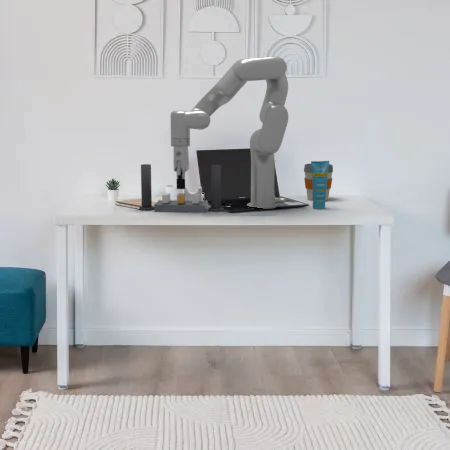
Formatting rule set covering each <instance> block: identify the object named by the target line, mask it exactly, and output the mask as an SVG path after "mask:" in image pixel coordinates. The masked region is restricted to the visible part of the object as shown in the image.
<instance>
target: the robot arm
mask: <svg viewBox="0 0 450 450" xmlns="http://www.w3.org/2000/svg"><path fill="white" fill-rule="evenodd" d="M287 68H288V66H287V62H286V61H285V60H284V59H283V58H282V57H281V56H267V57H260V58H257V57H256V58H241V59H239V60H236V61H235V62H234V63H233V64H232V65H231V67H230V68H229V69H228V70H227V71H226V72H225V73H224V74H223V76H222V77H221V78H220V79H219V80H218V81H217V82H216V84H215V85H214V86H213V87H212V88H210V89H209V90H208V92H207V93H206V94H205V95H204V96H202V98H201V99H200V100H199V101H198V102H197V103H196V105H194V106H193V107H192V109H191V110H190V111H188V110H174V111H173V110H172V111H171V113H170V147H172V148H173V171H174V172H175V173H176V189H177V190H184V189H185V187H186V172H187V171H189V169H190V159H189V147H190V146H191V130H192V129H193V130H199V131H200V130H205V129H207V128H208V127H209V126H210V123H211V116H212V115H213V114H214V113H215V112H216V111H217V110H218V109H219V108H221V107H222V106H223V105H226V104H227V103H229V102H230V101H232V100H233V99H234V97H235V96H236V95H237V94H238V93H239V92H240V90H241V89H242V88H243V87H245V85H246V83H247V82H251V81H252V82H254V81H256V82H257V81H266V89H265V95H264V99H263V101H262V105H261V108H260V112H259V120H260V122H261V124H262V125H261V128H259V129H256V130H255V131H253V133H252V135H250V139H249V148H250V150H249V151H250V202H248V203H247V204H246V206H249V207H257V208H263V209H262V210H269V209H270V210H272V209H275V208H276V207H277V206H279V204H280V203H281V204H286V198H283V197H277V196H276V194H275V173H276V172H275V167H276V165H275V163H276V161H275V153H277V152H278V151H279V150H280V148H281V147H282V143H283V141H284V137H285V132H286V129H287V126H288V123H289V112H288V109H287V107H285V104H286V100H287V96H288V91H289V81H288V77H287V75H286V74H287V73H286V72H287V70H288V69H287ZM249 207H248V208H249ZM277 208H278V207H277ZM277 208H276V209H277Z"/></svg>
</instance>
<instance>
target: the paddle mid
mask: <svg viewBox="0 0 450 450" xmlns="http://www.w3.org/2000/svg"><path fill="white" fill-rule="evenodd" d="M176 200H177V203H184V202H185V193H184V192H183V193H178V194H177V195H176Z"/></svg>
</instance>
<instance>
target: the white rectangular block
mask: <svg viewBox="0 0 450 450" xmlns="http://www.w3.org/2000/svg"><path fill="white" fill-rule="evenodd" d="M161 197H162V199H161V200H162V203H169V202H170V200H171V193H170V192H164V193H163V194H162V195H161Z"/></svg>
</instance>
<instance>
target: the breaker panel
mask: <svg viewBox="0 0 450 450" xmlns="http://www.w3.org/2000/svg"><path fill="white" fill-rule="evenodd" d="M153 206H154V210H153V211H154V212H156V213H158V212H160V213H205V212H206V211H207V210H208V209H209V206H208V200H203V201H200V202H199V203H198V204H196V203H192V201H191V200H185V202H184V203H177V199H175V200H174V199H170V202H169V203H162V199H158V200H157V202H156V203H154V205H153Z"/></svg>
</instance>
